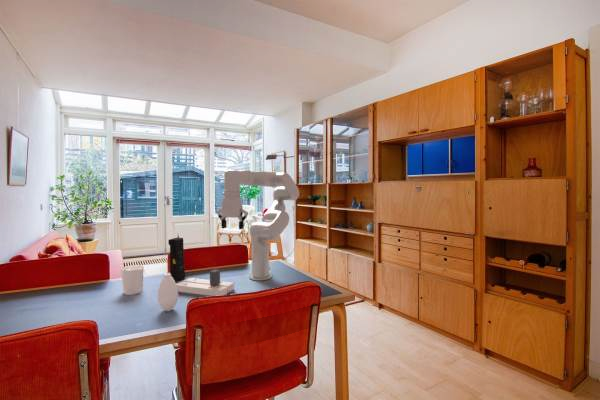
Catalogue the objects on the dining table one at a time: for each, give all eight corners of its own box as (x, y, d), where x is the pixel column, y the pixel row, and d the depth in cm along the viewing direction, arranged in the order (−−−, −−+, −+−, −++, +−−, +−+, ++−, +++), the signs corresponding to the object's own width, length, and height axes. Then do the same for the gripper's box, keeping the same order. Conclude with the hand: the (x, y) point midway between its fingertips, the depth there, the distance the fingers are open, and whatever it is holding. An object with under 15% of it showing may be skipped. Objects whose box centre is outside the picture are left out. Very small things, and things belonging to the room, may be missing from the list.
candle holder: (148, 290, 156) (148, 266, 155) (130, 296, 147) (130, 271, 147) (135, 287, 160) (134, 264, 160) (117, 293, 151) (116, 268, 151)
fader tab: (214, 288, 154) (214, 269, 154) (220, 289, 154) (219, 269, 153) (210, 291, 151) (209, 271, 150) (215, 292, 150) (215, 272, 149)
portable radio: (177, 282, 169) (177, 235, 168) (167, 281, 170) (166, 235, 169) (185, 277, 177) (185, 233, 175) (176, 277, 178) (175, 233, 177)
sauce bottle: (157, 315, 126) (156, 271, 125) (158, 308, 134) (157, 266, 133) (178, 312, 130) (177, 269, 129) (177, 305, 137) (177, 264, 136)
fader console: (189, 285, 164) (189, 277, 164) (234, 290, 156) (234, 282, 156) (174, 292, 152) (173, 284, 152) (221, 299, 144) (220, 289, 144)
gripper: (213, 194, 157) (213, 228, 158) (244, 195, 152) (244, 230, 153) (221, 194, 164) (221, 226, 165) (251, 194, 159) (251, 228, 160)
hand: (232, 228), depth 159 cm, fingers open, 9 cm apart
